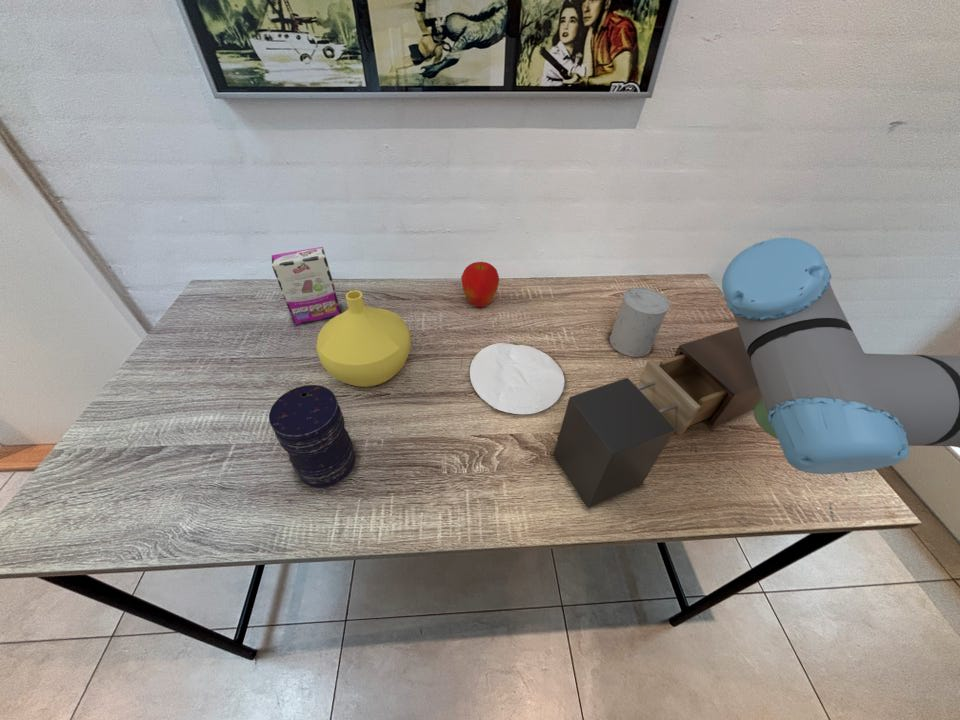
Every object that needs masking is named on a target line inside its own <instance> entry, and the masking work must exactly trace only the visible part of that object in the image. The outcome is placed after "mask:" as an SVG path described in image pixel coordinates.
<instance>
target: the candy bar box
mask: <svg viewBox="0 0 960 720" xmlns="http://www.w3.org/2000/svg"><path fill="white" fill-rule="evenodd" d="M271 267H272V270H273V273H274V275H275V277H276V280H277V283H278V285H279V288H280V291H281V293H282V296H283V298H284V301H285V303H286V306H287V309H288V311H289V313H290V316H291V319H292V321H293V324H294V325H295V326H297V325H303V324H308V323H312V322H313V323H314V322H317V321H321V320H327V319H332V318H334V317H335V316H337V315H339V314H341V313H342V310H341V306H340V305H341V304H340V301H339V298H338V295H337V290H336V288H335V283H334V280H333V277H332V273H331V269H330V265H329V263H328V259H327V256H326V253H325V248H324V247H323V246H319V247H318V246H317V247H312V248H306V249H300V250H295V251H288V252H282V253H278V254H272V255H271Z"/></svg>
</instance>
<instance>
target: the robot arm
mask: <svg viewBox="0 0 960 720" xmlns="http://www.w3.org/2000/svg"><path fill="white" fill-rule="evenodd" d="M831 279H832V273H831V271H830V268H829V267H828V265H827V263H826V261H825V259H824V256H823V254H822V252H820V250H819V249H818V248H817V247H816V246H815V245H813V244H811V243H809V242H807V241H805V240H803V239H799V238H795V237H776V238H775V237H774V238H770V239H765V240H762V241H760V242H756V243H755V244H753V245H750V246H748V247H747V248H745V249H743V250H742V251H741V252H739V253H738V254H737V255H736V256H735V257H734V258H732V260H731V261H730V262H729V264H728V265H727V267H726V268H725V271H724V273H723V275H722V280H721V286H722V287H721V289H722V292H723V295H724V301H725V302H726V307H727V308H728V310H729V311H730V312H732V314H733V317H734V319H735V322H736V325H737V327H738V328H739V331H740V334H741V337H742V340H743V343H744V346H745V349H746V352H747V354H748V355H749V357H750V361H751V364H752V367H753V370H754V373H755V376H756V379H757V382H758V385H759V389H760V392H761V395H762V398H763V401H764V404H765V407H766V410H767V413H768V420H769V423H770V425H771V427H772V428H773V429H774V430H775V433H776V435H777V438H778V439H777V440H778V443H779V445H780V447H781V450H782V452H783V454H784V457H785V459H786V461H787V462H788V464H790V466H792V467H793V468H794V469H796V470H798V471H800V472H804V473H807V474H813V475H814V474H815V475H835V474H842V473H843V474H845V473H846V474H850V473H851V474H852V473H860V472H866V471H874V470H878V469H884V468H887V467H891V466H895V465H896V464H899V463H901V462H903V461H905V460H906V459H907V458H908V457H909V455H910V447H918V446H919V447H953V448H958V449H959V448H960V355H949V354H948V355H946V354H945V355H943V354H942V355H937V354H936V355H935V354H897V353H896V354H895V353H894V354H893V353H866V352H864V350H863V347H862V346H861V344H860V342H859V340H858V338H857V335H856V334H855V332H854V330H853V328H852V327H851V324H850V323H849V321H848V318H847V317H846V315H845V313H844V311H843V309H842V307H841V304H840V303H839V300H838V299H837V297H836V294H835V292H834V290H833V288H832V285H831V282H830V281H831Z"/></svg>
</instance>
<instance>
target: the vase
mask: <svg viewBox="0 0 960 720" xmlns="http://www.w3.org/2000/svg"><path fill="white" fill-rule="evenodd" d="M345 301H346V303H347V310H345V311H343V312H341V314H339V315H337V316H335V317H331V318H330V319H329V320H328V321H327V322H326V323H325V324H324V325H323V326H322V327H321V329H320V331H319V333H318V334H317V339H316V348H315V349H316V352H317V355H318V358H319V361H320V364H321V365H322V367H323V368H324V369H325V370H326V371H327V372H328V373H329V374H330V375H332V376H333V378H335V379H336V380H339V382H342V383H344V384H347V385H351V386H355V387H359V388H360V387H362V388H368V387H374V386H378V385H381V384H384V383H385V382H387V381H390V380H391V379H392V378H393V377H394V376H395V375H397V374H398V373H399V372H400V371H401V370H402V368H403V367H404V365H405V364H406V361H407V360H408V357H409V354H410V351H411V349H412V348H411V347H412V343H411V332H410V329H409V328H408V326H407V324H406V322H405V321H404V319H403V318H402V317H400V316H399V315H398V314H397V313H395V312H393V311H390V310H388V309H384V308H380V307H371V306H367V305H365V300H364V296H363V292H361V291H360V290H350V291H348V292H347V293H346V294H345Z"/></svg>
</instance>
